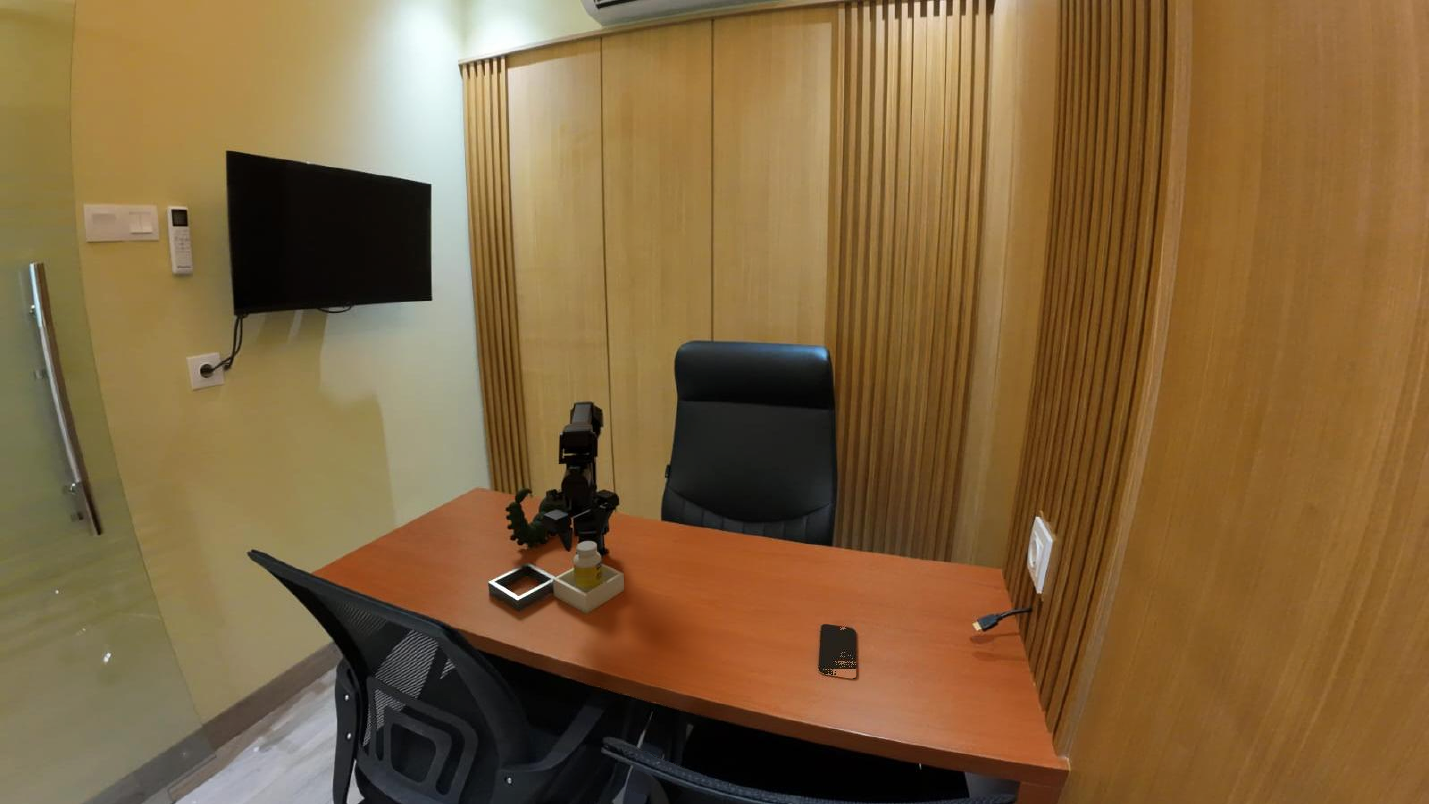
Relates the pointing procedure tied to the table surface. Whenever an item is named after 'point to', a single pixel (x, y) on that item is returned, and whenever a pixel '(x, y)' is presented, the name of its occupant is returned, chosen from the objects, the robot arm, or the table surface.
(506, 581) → the collar
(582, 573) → the pill bottle
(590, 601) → the bin
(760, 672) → the table surface
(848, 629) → the phone
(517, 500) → the toy figurine
